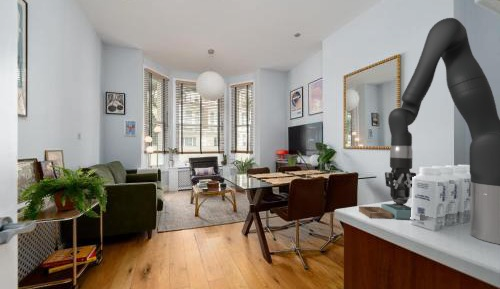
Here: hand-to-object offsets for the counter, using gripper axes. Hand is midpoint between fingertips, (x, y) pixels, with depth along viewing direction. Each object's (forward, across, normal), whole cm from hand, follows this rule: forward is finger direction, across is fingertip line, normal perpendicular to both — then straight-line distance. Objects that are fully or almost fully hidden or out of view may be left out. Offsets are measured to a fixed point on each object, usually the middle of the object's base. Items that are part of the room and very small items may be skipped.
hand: (400, 197), depth 86 cm
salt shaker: (+4, 0, 0) cm, 4 cm away
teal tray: (+8, 0, 0) cm, 8 cm away
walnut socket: (+8, -10, +3) cm, 13 cm away
